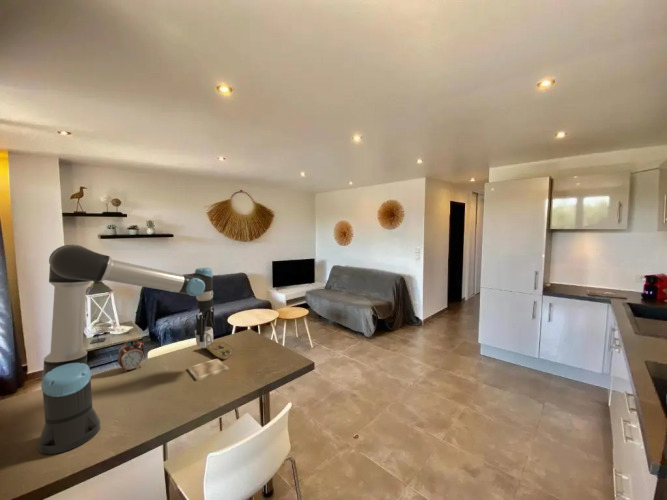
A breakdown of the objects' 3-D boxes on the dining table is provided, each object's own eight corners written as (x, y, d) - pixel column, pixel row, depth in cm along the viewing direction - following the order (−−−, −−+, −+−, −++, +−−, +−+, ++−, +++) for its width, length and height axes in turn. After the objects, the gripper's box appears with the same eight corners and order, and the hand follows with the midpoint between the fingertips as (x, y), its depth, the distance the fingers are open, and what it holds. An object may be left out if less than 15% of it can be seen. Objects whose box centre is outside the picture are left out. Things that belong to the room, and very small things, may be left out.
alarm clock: (121, 375, 136) (119, 345, 135) (117, 372, 139) (115, 342, 138) (146, 366, 145) (144, 338, 144) (142, 363, 148) (141, 336, 147)
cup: (219, 345, 140) (219, 329, 139) (204, 350, 133) (204, 334, 133) (206, 340, 146) (206, 325, 145) (192, 345, 139) (191, 330, 138)
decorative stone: (198, 348, 165) (200, 340, 165) (223, 344, 176) (224, 336, 176) (217, 367, 148) (219, 357, 148) (243, 361, 160) (245, 352, 159)
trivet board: (196, 381, 130) (196, 378, 130) (187, 369, 142) (187, 367, 141) (228, 370, 141) (228, 368, 140) (217, 360, 152) (217, 358, 152)
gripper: (202, 304, 129) (204, 353, 130) (221, 294, 148) (222, 337, 150) (186, 304, 129) (188, 353, 131) (207, 294, 149) (209, 337, 150)
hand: (206, 344), depth 140 cm, fingers closed on cup, 7 cm apart
